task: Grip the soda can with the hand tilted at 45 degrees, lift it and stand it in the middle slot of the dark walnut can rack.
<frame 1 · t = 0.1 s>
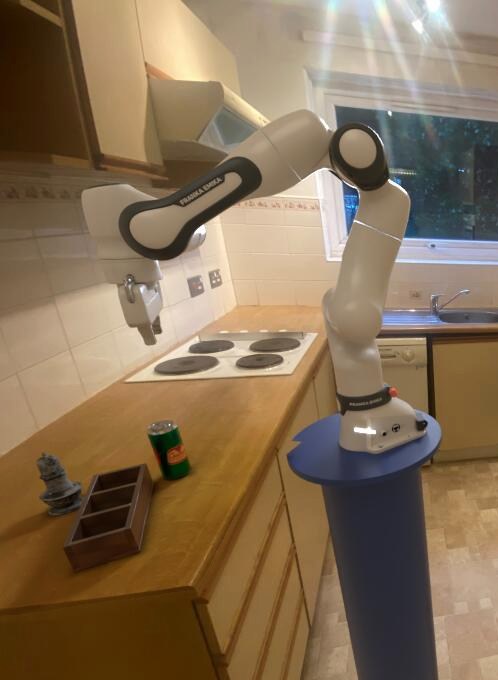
hand: (154, 338, 92), 27 cm above the countertop, tool pointing down, fingers open, 8 cm apart
grey stacked stone piece: (68, 507, 83), on the countertop
soda can: (177, 474, 93), on the countertop
can rack: (119, 522, 79), on the countertop
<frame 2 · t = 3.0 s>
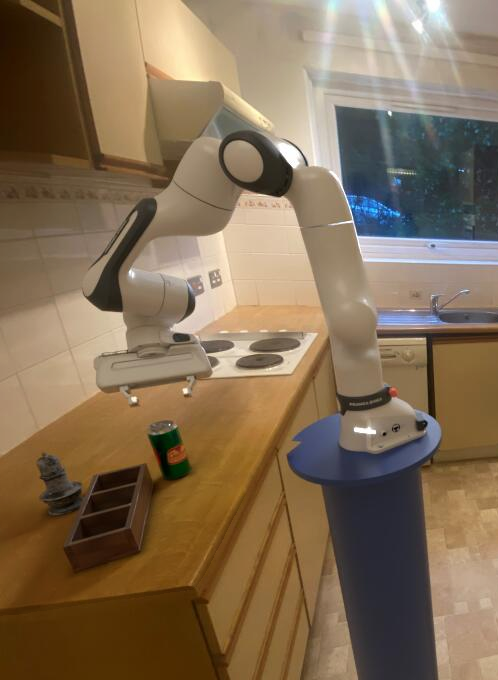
hand: (162, 401, 95), 14 cm above the countertop, tool tilted 45°, fingers open, 8 cm apart
nothing on the countertop moved.
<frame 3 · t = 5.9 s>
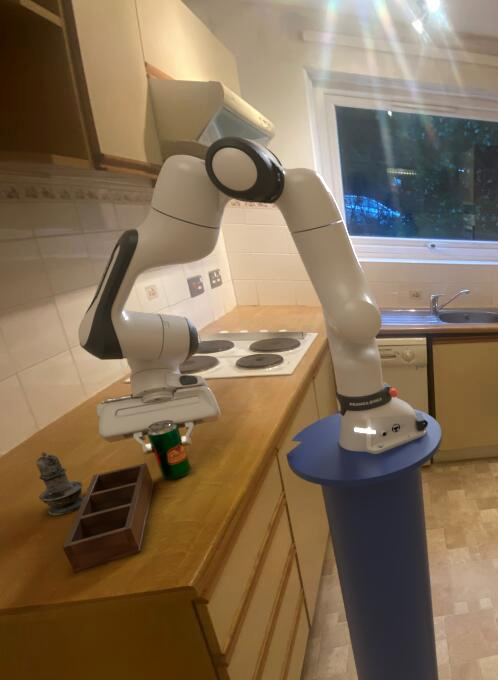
hand: (168, 448, 90), 7 cm above the countertop, tool tilted 45°, fingers closed on soda can, 5 cm apart
soda can: (177, 474, 93), on the countertop, touching gripper
everything else where it was.
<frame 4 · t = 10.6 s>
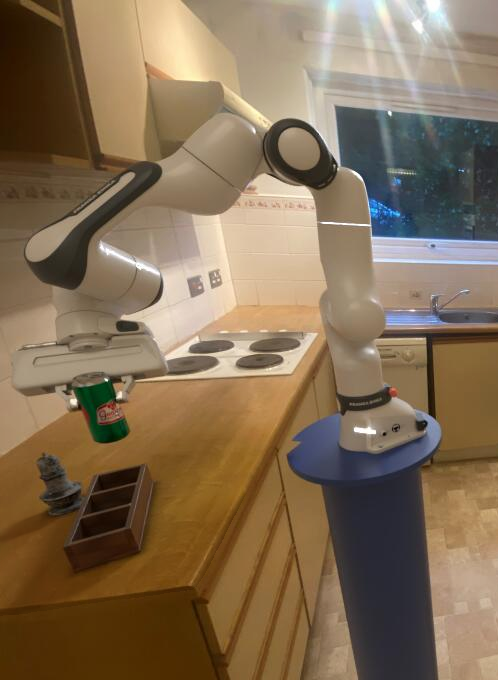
hand: (99, 406, 75), 21 cm above the countertop, tool tilted 45°, fingers closed on soda can, 5 cm apart
soda can: (113, 438, 78), point 15 cm above the countertop, touching gripper
everything else where it was.
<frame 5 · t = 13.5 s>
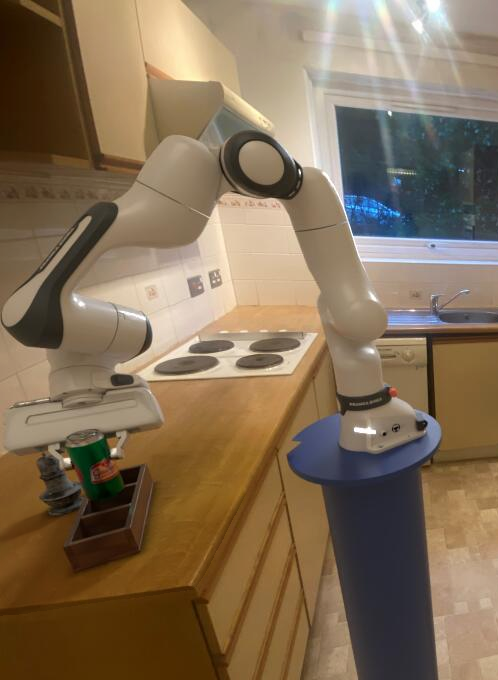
hand: (93, 464, 74), 13 cm above the countertop, tool tilted 45°, fingers closed on soda can, 5 cm apart
soda can: (107, 494, 77), point 6 cm above the countertop, touching gripper
everything else where it was.
when the fingers open (7 cm above the countertop, at t = 15.5 s): soda can stays where it is, resting on can rack.
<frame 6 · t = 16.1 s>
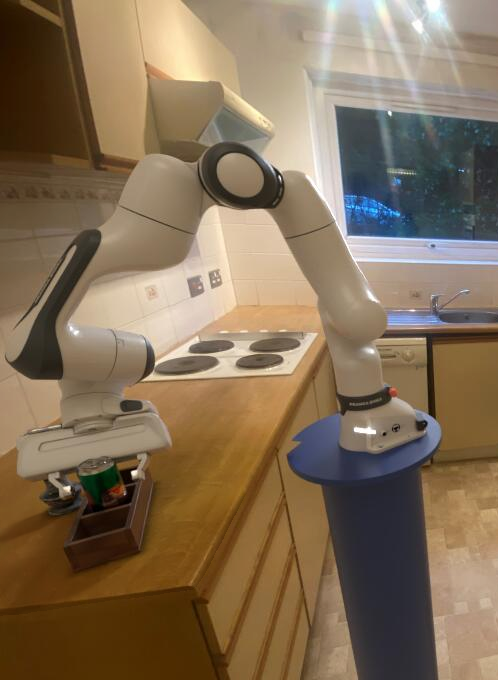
hand: (104, 489, 76), 8 cm above the countertop, tool tilted 45°, fingers open, 8 cm apart
soda can: (118, 519, 79), point 1 cm above the countertop, touching can rack
everything else where it was.
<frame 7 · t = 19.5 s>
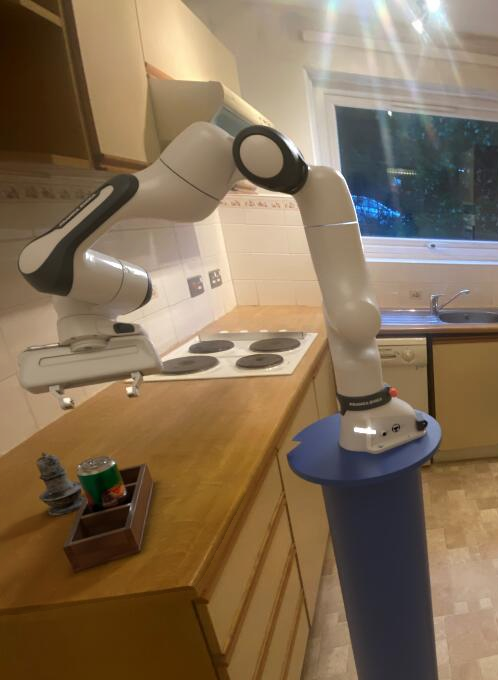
hand: (101, 402, 82), 19 cm above the countertop, tool tilted 45°, fingers open, 8 cm apart
nothing on the countertop moved.
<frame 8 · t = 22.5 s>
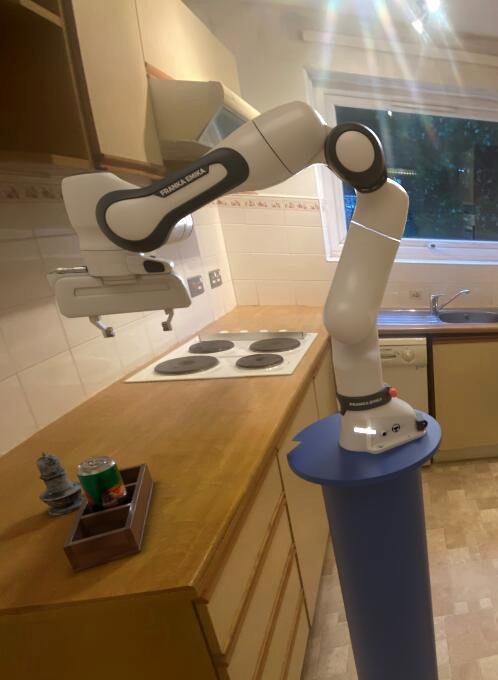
hand: (139, 333, 89), 29 cm above the countertop, tool pointing down, fingers open, 8 cm apart
nothing on the countertop moved.
at the end: soda can 0.0 cm off-centre in the can rack, point 0.6 cm above the can rack's base; soda can tilted 0°; the gripper is holding nothing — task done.
